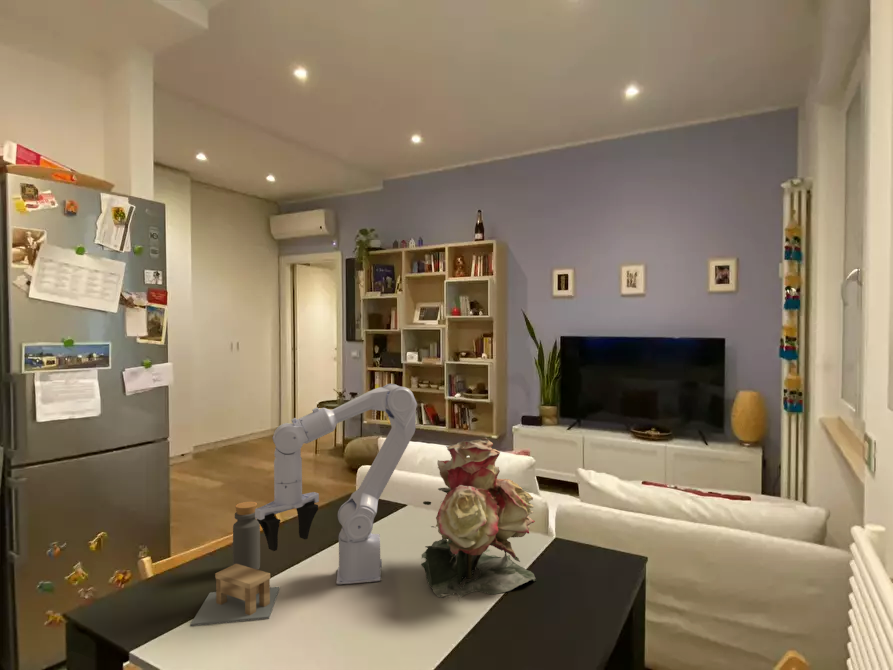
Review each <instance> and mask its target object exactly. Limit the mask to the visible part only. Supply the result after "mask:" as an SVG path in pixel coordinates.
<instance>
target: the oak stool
mask: <svg viewBox="0 0 893 670" xmlns="http://www.w3.org/2000/svg"><path fill="white" fill-rule="evenodd" d="M214 575H215V576H214V577H215V582H216V583H215V584H216V587H215V589H216V591H215V592H216V603H217V604H220V605H222V604H223V603H225V602H227V595H229V596H232V597H235V598H238V599H241V600H244V601H245V614H248V615H252V614H253V613H255V612H256V594H258V593H259V605H260V606H263V607H265V606H267V605H268V604H270V587H271V586H270V582H271V581H270V580H271V573H270V572H267V571H263V570H260V569H258V570H257V569H253V568H250V567H246V566H243V565H240V564H234V565H233V564H232V565H230V566H228V567H226V568H224V569H221V570H220V571H218V572H216V573H214Z"/></svg>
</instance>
